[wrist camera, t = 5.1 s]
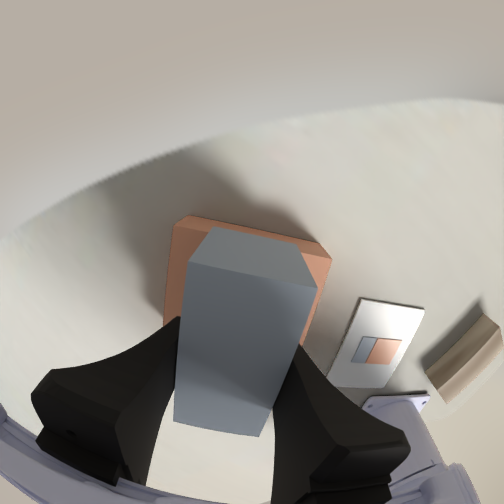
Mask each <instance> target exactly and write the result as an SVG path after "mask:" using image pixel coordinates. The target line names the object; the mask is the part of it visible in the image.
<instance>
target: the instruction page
mask: <svg viewBox="0 0 504 504" xmlns="http://www.w3.org/2000/svg"><path fill="white" fill-rule="evenodd" d="M425 311H426V310H425V309H420V308H414V307H407V306H401V305H395V304H390V303H384V302H378V301H372V300H367V299H361V300H360V303H359V305H358V308H357V310H356V313H355V315H354V317H353V320H352V322H351V325H350V327H349V329H348V332H347V334H346V336H345V338H344V341H343V343H342V345H341V347H340V349H339V352H338V354H337V356H336V358H335V360H334V362H333V364H332V366H331V368H330V370H329V372H328V374H327V376H326V378H327V379H328V380H329V381H330V382H331V383H332V385H334V386H335V387H347V388H384V387H385V385H386V383H387V382H388V380H389V379H390V377H391V375H392V374H393V372H394V370H395V369H396V367H397V365H398V363H399V362H400V360H401V358H402V356H403V355H404V353H405V351H406V349H407V347H408V345H409V344H410V342H411V340H412V338H413V336H414V334H415V332H416V330H417V328H418V326H419V324H420V322H421V319H422V317H423V315H424V313H425Z"/></svg>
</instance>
